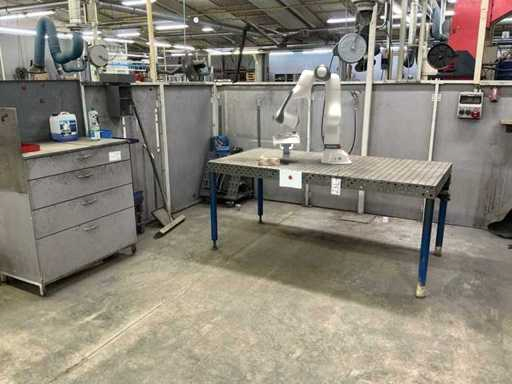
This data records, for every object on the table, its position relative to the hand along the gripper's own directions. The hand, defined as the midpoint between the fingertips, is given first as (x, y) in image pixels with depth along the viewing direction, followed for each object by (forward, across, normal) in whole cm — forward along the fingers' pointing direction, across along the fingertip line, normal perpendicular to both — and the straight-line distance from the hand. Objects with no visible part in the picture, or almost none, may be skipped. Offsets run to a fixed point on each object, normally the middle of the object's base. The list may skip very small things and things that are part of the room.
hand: (286, 150), depth 291 cm
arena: (+10, -12, +4) cm, 16 cm away
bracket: (+5, 0, +2) cm, 5 cm away
